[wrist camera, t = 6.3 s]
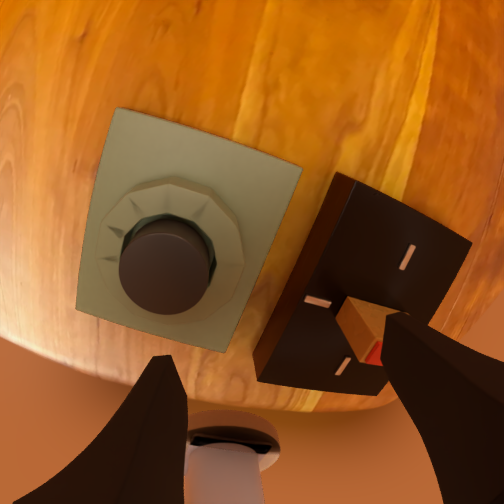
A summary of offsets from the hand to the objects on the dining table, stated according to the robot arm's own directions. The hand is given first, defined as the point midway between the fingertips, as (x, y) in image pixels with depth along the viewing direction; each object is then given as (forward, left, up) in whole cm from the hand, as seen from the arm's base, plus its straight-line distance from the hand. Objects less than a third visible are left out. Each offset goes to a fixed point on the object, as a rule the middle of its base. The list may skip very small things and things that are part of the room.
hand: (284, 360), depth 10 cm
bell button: (0, +4, -5) cm, 7 cm away
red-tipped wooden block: (0, -7, -5) cm, 8 cm away
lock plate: (0, -7, -8) cm, 10 cm away
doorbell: (0, +4, -8) cm, 9 cm away
